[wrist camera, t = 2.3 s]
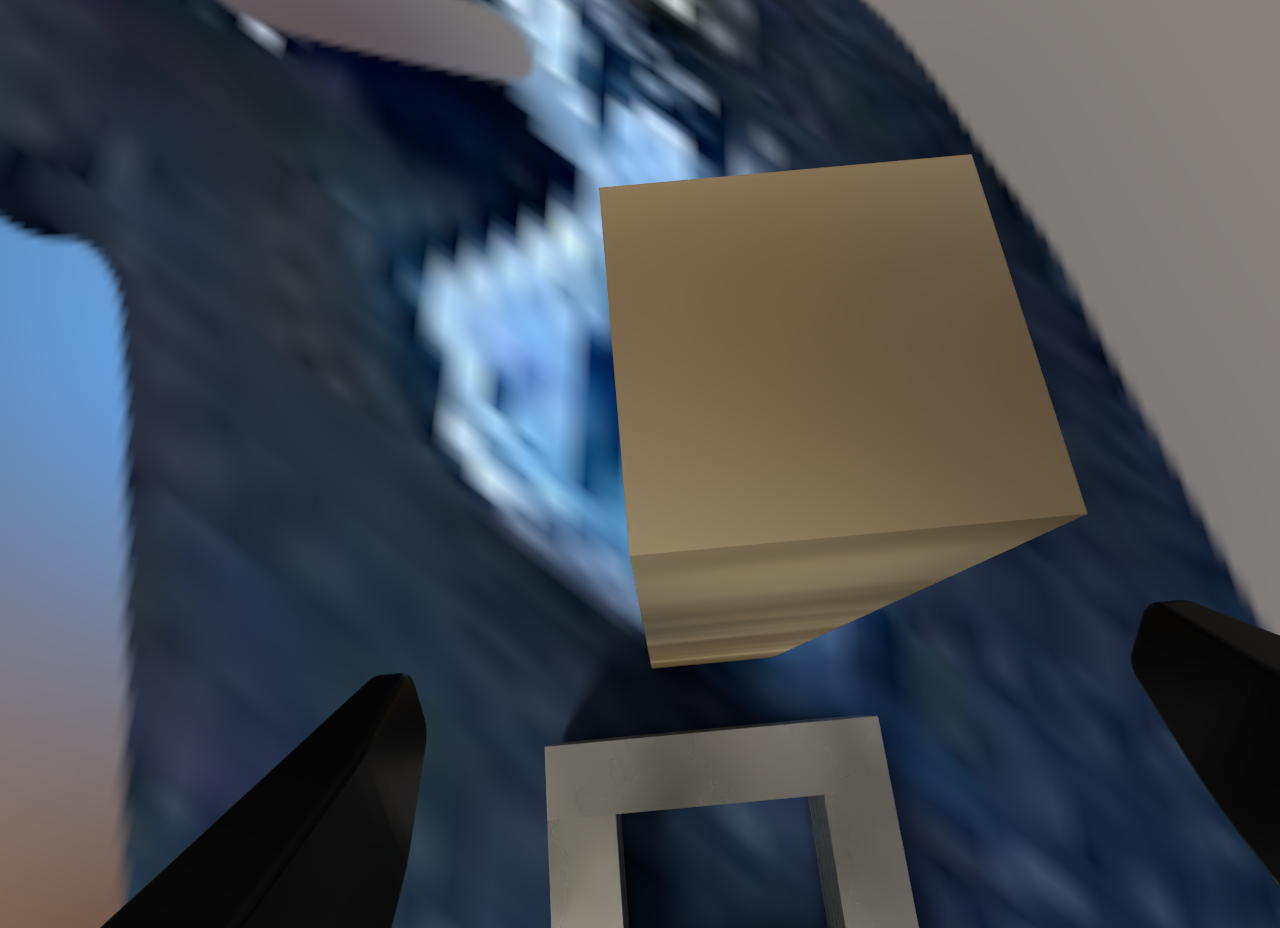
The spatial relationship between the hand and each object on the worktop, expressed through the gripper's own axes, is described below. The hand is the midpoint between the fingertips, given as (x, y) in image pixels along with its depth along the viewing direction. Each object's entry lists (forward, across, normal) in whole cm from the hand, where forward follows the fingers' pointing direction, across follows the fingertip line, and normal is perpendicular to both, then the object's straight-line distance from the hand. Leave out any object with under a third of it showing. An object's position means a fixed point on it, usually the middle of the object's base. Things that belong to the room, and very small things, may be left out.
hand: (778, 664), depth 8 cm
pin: (+9, 0, +6) cm, 10 cm away
